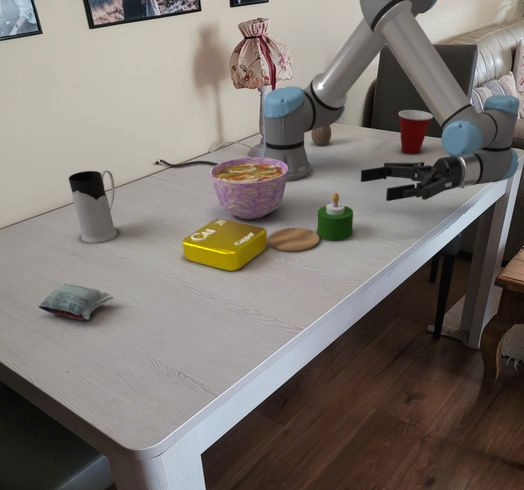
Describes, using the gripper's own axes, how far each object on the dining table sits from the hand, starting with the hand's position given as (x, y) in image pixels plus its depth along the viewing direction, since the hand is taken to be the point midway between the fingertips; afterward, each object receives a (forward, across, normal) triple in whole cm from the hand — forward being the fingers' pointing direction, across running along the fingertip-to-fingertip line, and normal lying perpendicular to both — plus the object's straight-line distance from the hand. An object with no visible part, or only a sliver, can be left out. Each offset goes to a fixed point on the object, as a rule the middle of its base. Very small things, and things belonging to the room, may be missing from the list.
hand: (373, 185), depth 125 cm
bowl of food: (+25, +20, -10) cm, 33 cm away
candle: (+9, 0, -11) cm, 14 cm away
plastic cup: (-38, +49, -10) cm, 63 cm away
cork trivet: (+20, 0, -10) cm, 22 cm away
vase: (-14, +70, -10) cm, 72 cm away
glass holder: (+63, +24, -10) cm, 68 cm away
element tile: (+36, 0, -11) cm, 38 cm away
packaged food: (+70, -14, -10) cm, 72 cm away
